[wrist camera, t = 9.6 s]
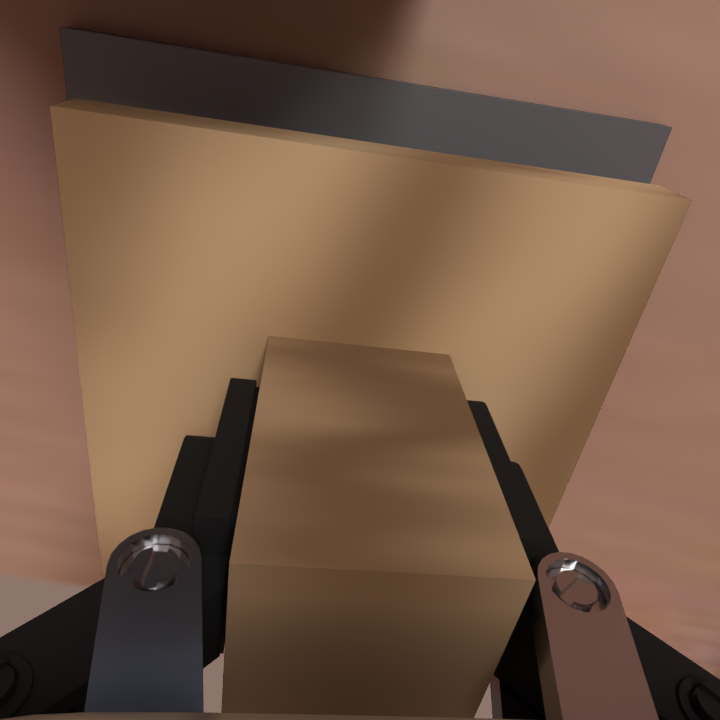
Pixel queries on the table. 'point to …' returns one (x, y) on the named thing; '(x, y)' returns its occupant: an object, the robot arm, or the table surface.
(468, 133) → the charcoal mat
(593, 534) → the table surface
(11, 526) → the table surface
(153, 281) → the oak lid
